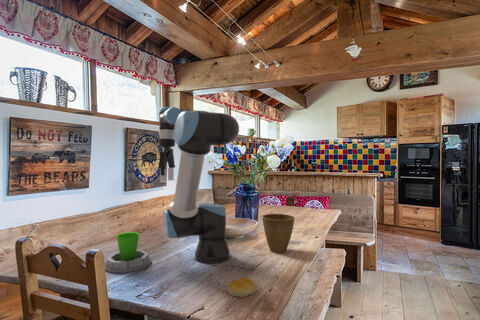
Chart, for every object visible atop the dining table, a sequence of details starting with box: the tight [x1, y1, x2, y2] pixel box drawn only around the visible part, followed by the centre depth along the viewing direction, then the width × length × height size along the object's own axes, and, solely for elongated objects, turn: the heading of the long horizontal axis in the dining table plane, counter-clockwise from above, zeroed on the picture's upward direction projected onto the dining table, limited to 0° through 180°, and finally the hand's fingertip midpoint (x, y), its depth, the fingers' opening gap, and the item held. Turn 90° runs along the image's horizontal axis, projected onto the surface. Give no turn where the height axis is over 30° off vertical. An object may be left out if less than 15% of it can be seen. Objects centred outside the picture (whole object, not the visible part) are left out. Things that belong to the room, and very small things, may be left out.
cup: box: [115, 231, 141, 261], centre depth 117 cm, size 9×9×11 cm
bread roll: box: [226, 277, 257, 298], centre depth 93 cm, size 8×9×4 cm
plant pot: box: [262, 213, 296, 254], centre depth 134 cm, size 15×15×16 cm
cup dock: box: [105, 249, 152, 274], centre depth 117 cm, size 18×18×4 cm
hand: (167, 181), depth 143 cm, fingers open, 13 cm apart
